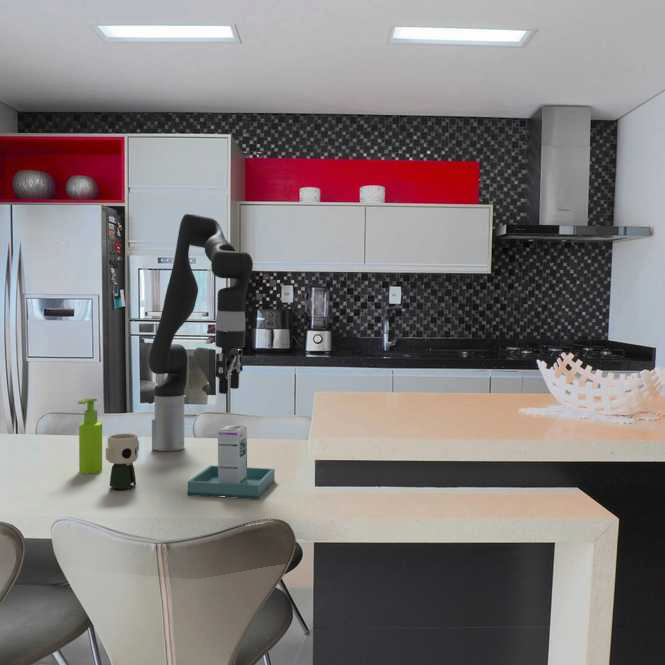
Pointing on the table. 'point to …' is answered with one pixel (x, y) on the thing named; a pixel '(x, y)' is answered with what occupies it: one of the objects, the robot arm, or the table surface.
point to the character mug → (122, 459)
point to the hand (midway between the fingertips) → (229, 390)
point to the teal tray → (251, 489)
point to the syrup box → (232, 455)
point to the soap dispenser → (90, 440)
